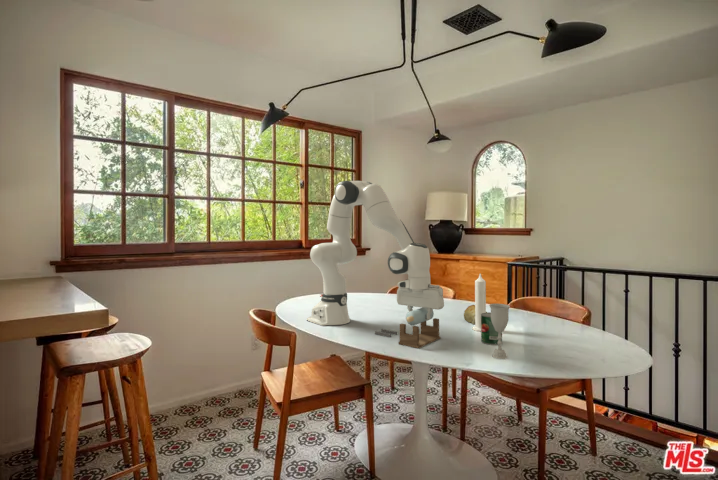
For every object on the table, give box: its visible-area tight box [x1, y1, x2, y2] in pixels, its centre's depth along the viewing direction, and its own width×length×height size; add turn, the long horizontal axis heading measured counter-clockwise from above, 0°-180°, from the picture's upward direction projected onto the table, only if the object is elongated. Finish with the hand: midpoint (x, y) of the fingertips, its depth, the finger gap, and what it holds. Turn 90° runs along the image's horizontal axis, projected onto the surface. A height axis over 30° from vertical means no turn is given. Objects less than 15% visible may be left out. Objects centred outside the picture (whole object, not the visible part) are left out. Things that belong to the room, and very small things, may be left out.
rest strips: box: [374, 328, 398, 338], centre depth 170 cm, size 8×5×1 cm, turn 49°
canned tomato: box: [480, 311, 503, 346], centre depth 156 cm, size 8×8×11 cm
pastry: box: [463, 304, 488, 326], centre depth 190 cm, size 14×12×8 cm
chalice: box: [488, 303, 511, 360], centre depth 139 cm, size 7×7×18 cm
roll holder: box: [398, 317, 441, 349], centre depth 159 cm, size 17×9×8 cm, turn 139°
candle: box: [472, 273, 487, 333], centre depth 174 cm, size 7×7×25 cm
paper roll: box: [405, 307, 435, 327], centre depth 159 cm, size 16×6×6 cm, turn 139°
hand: (420, 318), depth 159 cm, fingers closed on paper roll, 5 cm apart
